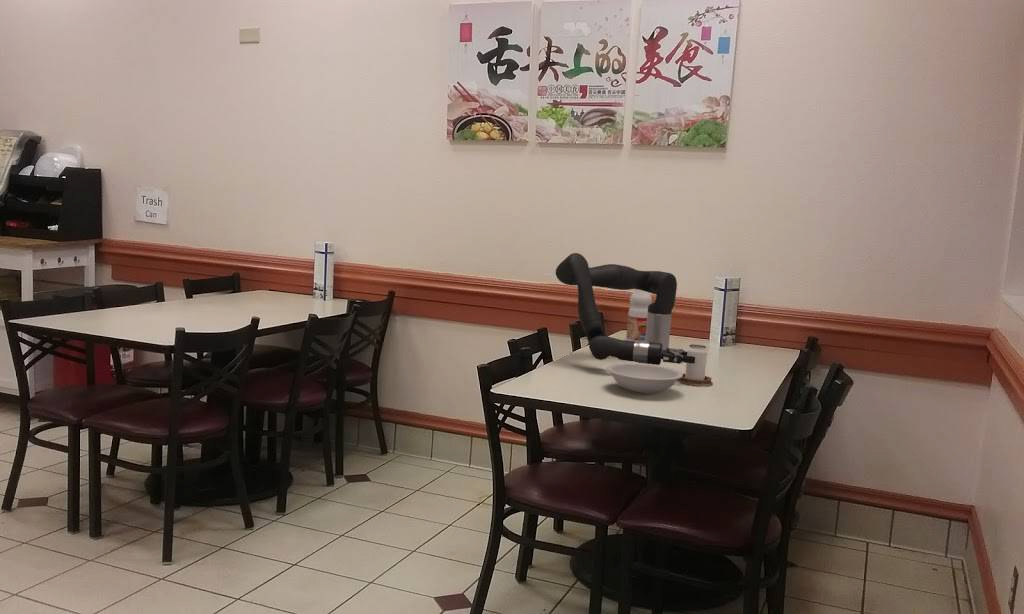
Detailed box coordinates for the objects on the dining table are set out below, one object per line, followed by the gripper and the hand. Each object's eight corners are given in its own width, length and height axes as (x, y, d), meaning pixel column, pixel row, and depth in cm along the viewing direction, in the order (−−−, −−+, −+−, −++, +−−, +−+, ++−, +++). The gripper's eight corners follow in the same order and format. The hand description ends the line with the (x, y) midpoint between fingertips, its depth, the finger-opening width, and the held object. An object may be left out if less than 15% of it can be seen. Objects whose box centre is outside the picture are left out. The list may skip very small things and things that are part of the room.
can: (704, 383, 281) (707, 348, 279) (684, 381, 282) (687, 346, 281) (704, 379, 287) (707, 345, 286) (684, 377, 289) (688, 343, 287)
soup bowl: (602, 380, 280) (603, 360, 279) (674, 384, 279) (676, 365, 278) (608, 397, 256) (610, 376, 255) (687, 402, 255) (689, 381, 255)
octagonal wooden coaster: (677, 376, 292) (678, 371, 292) (712, 381, 289) (713, 375, 289) (675, 383, 281) (675, 378, 280) (711, 388, 278) (712, 382, 277)
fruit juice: (631, 341, 359) (637, 276, 356) (651, 344, 354) (657, 279, 351) (622, 344, 352) (627, 277, 348) (642, 347, 347) (648, 280, 343)
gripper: (646, 345, 281) (695, 350, 277) (650, 338, 294) (697, 343, 290) (644, 367, 282) (693, 372, 278) (648, 359, 295) (695, 365, 291)
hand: (695, 357), depth 284 cm, fingers open, 8 cm apart
